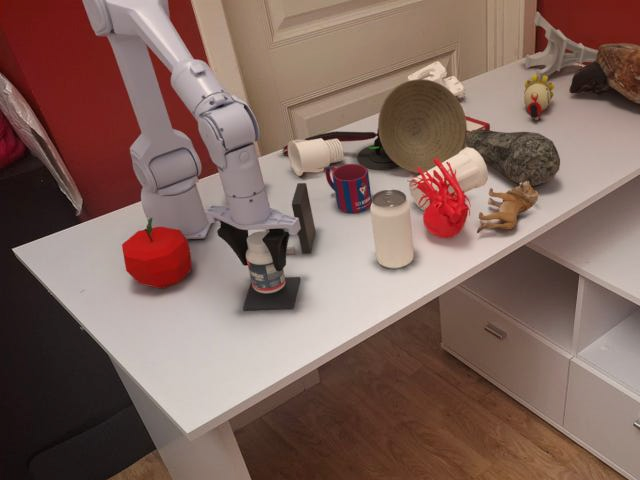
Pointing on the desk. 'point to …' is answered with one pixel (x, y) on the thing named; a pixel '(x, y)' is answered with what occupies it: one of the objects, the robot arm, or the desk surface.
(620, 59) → the sculpture
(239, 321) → the desk surface
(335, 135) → the toy
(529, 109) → the toy
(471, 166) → the cup
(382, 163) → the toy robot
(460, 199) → the heart organ
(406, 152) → the bowl
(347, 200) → the cup
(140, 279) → the apple
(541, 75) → the eiffel tower
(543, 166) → the decorative stone
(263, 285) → the pill bottle
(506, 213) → the lion figurine
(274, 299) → the coaster
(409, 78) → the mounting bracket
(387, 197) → the can
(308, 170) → the downlight
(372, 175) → the desk surface
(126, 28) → the robot arm
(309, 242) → the upright grey panel
